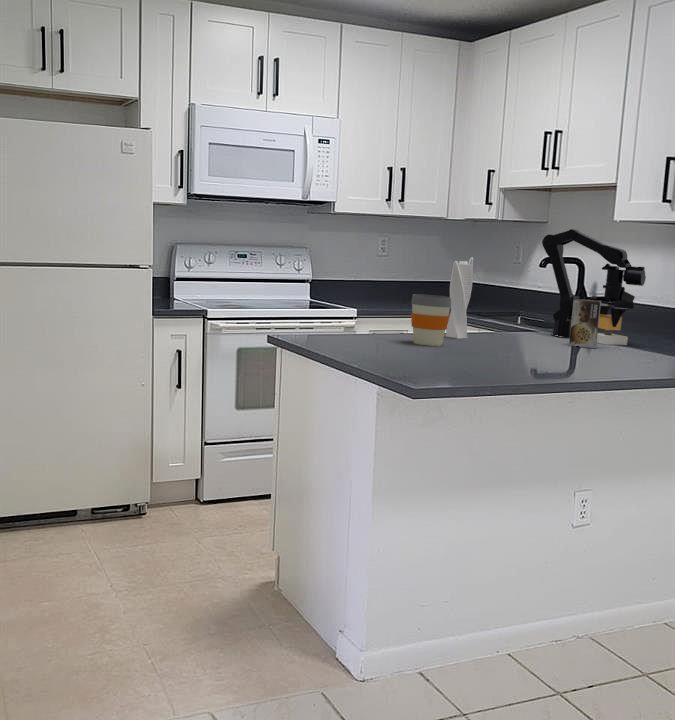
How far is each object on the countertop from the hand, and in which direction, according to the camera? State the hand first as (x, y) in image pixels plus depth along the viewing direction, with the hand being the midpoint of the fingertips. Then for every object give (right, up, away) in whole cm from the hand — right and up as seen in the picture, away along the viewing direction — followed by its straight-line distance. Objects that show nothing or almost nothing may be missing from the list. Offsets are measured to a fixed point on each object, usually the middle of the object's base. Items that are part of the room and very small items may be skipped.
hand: (608, 325), depth 314 cm
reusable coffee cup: (-71, -8, -45) cm, 84 cm away
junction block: (0, -6, +1) cm, 6 cm away
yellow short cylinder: (0, -1, 0) cm, 1 cm away
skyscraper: (-59, -5, -20) cm, 62 cm away
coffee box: (-15, -8, -18) cm, 25 cm away
